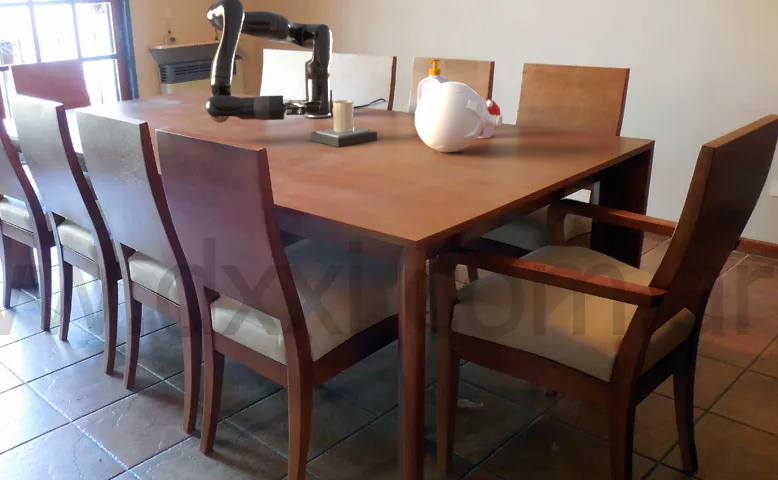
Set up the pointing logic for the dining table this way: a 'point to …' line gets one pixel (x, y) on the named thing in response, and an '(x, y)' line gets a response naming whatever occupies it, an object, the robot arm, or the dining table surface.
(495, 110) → the mushroom
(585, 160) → the dining table surface
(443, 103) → the white rounded shape
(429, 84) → the soap bottle
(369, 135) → the scale
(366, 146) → the dining table surface
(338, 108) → the tumbler
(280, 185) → the dining table surface
